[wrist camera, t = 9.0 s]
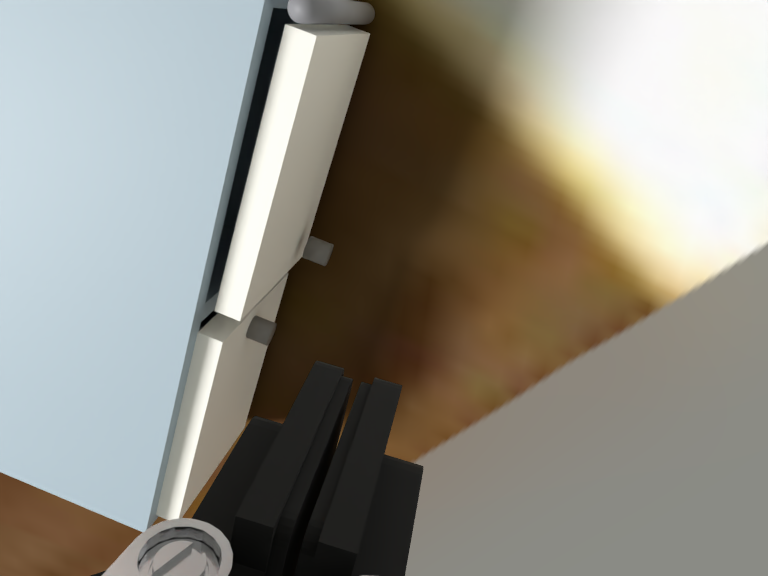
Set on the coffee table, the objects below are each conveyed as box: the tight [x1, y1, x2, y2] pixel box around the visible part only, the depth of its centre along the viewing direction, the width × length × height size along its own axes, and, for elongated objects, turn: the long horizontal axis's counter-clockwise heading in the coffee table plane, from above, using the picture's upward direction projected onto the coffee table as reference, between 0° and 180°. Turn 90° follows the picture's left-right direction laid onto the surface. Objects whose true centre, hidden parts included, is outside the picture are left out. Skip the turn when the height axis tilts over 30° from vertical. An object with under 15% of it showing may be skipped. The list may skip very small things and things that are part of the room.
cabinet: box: [0, 0, 338, 532], centre depth 26 cm, size 22×12×8 cm, turn 162°
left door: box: [214, 0, 375, 321], centre depth 24 cm, size 11×2×8 cm, turn 161°
